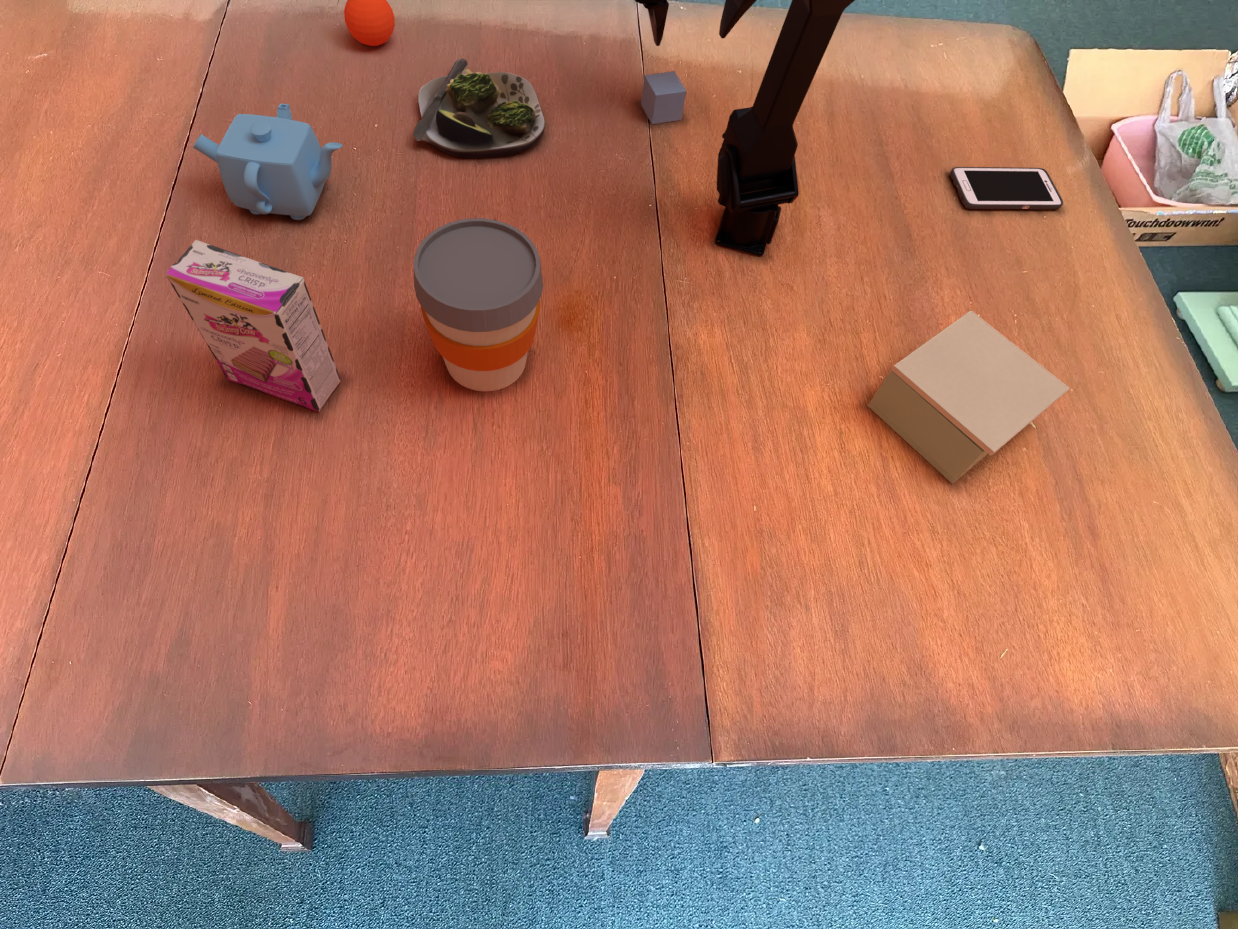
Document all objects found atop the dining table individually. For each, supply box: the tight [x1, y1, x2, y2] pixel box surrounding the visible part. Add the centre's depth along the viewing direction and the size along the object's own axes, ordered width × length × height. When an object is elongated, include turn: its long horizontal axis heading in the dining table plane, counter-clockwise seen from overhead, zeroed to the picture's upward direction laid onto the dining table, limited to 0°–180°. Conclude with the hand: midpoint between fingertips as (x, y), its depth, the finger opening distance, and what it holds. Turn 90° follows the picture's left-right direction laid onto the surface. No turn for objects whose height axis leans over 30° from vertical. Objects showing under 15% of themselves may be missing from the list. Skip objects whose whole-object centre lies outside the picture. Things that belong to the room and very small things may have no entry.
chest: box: [867, 369, 989, 485], centre depth 86 cm, size 13×14×7 cm
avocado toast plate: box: [412, 58, 546, 159], centre depth 106 cm, size 19×18×5 cm
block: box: [640, 70, 687, 125], centre depth 110 cm, size 5×5×5 cm
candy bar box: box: [165, 239, 342, 413], centre depth 76 cm, size 11×5×16 cm, turn 71°
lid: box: [890, 309, 1071, 457], centre depth 83 cm, size 13×14×1 cm
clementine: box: [336, 0, 396, 47], centre depth 111 cm, size 8×7×7 cm
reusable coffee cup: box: [413, 217, 544, 392], centre depth 81 cm, size 13×13×15 cm
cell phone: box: [949, 166, 1064, 210], centre depth 110 cm, size 8×15×1 cm, turn 96°
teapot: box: [192, 103, 344, 221], centre depth 93 cm, size 18×14×10 cm
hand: (689, 40), depth 101 cm, fingers open, 9 cm apart
